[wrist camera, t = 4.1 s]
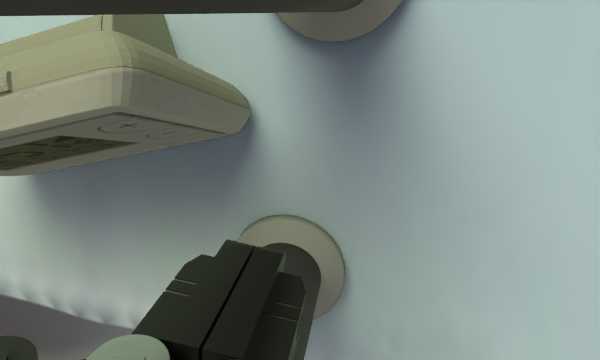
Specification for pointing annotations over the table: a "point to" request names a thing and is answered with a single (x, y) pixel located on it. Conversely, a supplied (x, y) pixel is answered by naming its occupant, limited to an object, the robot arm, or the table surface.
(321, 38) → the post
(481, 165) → the table surface
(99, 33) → the digital clock
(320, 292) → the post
